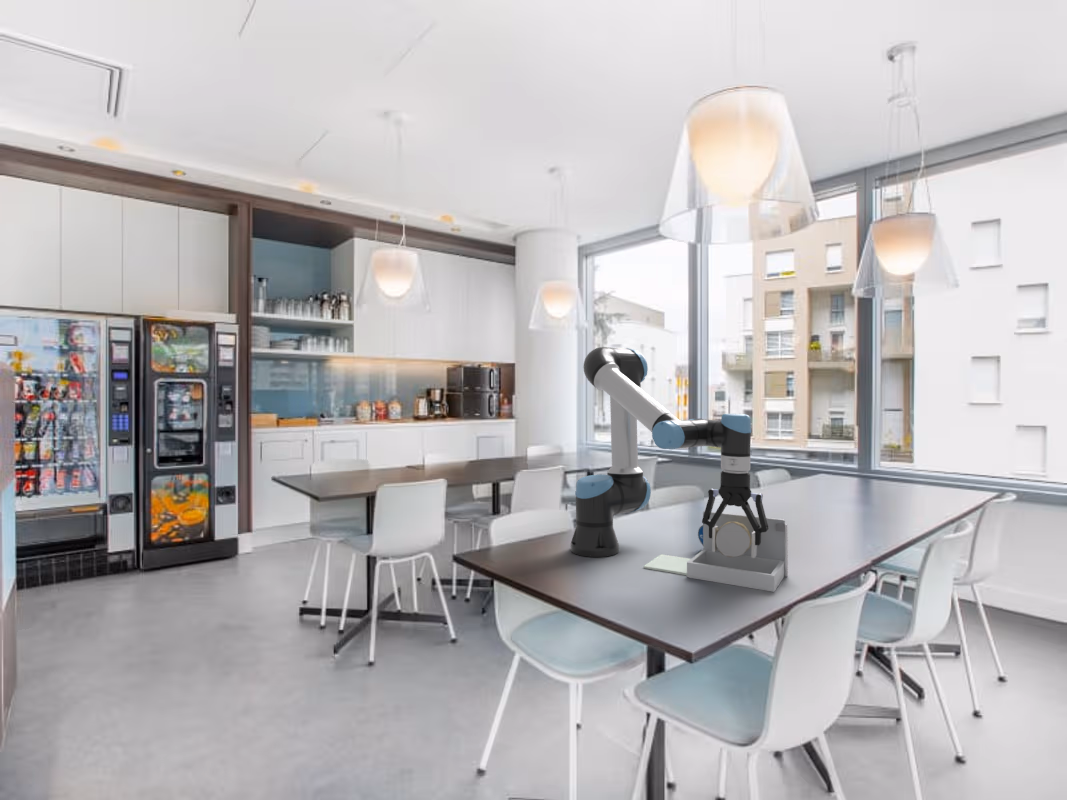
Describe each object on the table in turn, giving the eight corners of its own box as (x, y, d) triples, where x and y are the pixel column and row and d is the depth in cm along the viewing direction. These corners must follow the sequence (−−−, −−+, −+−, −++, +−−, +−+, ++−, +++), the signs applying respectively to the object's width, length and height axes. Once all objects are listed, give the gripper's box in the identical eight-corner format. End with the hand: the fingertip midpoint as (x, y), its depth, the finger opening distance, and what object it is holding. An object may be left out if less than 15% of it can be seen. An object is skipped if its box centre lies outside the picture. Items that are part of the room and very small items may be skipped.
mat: (643, 568, 161) (643, 566, 161) (661, 556, 173) (661, 554, 173) (692, 576, 154) (692, 574, 154) (707, 563, 166) (707, 561, 166)
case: (686, 577, 153) (686, 521, 153) (704, 562, 166) (703, 511, 166) (777, 592, 141) (777, 532, 141) (788, 575, 154) (788, 519, 154)
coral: (708, 532, 150) (716, 510, 158) (714, 563, 154) (722, 540, 161) (746, 534, 145) (752, 512, 153) (751, 566, 149) (758, 543, 156)
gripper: (690, 469, 156) (689, 550, 157) (776, 476, 144) (775, 564, 145) (698, 466, 162) (697, 543, 163) (782, 473, 150) (780, 557, 151)
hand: (734, 553), depth 154 cm, fingers closed on coral, 9 cm apart
